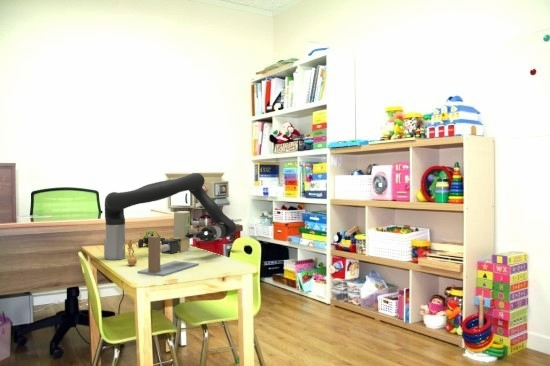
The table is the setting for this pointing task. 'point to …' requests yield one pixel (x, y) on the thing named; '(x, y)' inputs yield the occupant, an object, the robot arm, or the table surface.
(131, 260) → the figurine
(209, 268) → the table surface
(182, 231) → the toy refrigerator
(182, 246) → the sleeve
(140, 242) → the motor vehicle
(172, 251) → the dark grey slab
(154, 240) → the pipe rig
